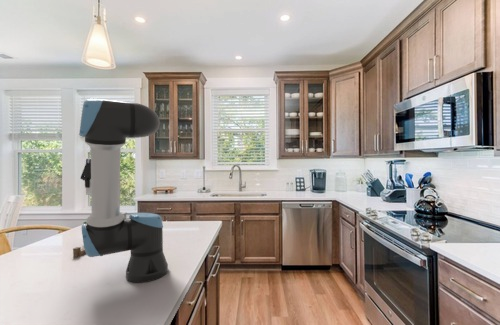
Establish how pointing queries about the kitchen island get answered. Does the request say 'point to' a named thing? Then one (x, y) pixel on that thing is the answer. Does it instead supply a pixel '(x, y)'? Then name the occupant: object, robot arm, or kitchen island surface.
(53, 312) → the kitchen island surface
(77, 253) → the rail
